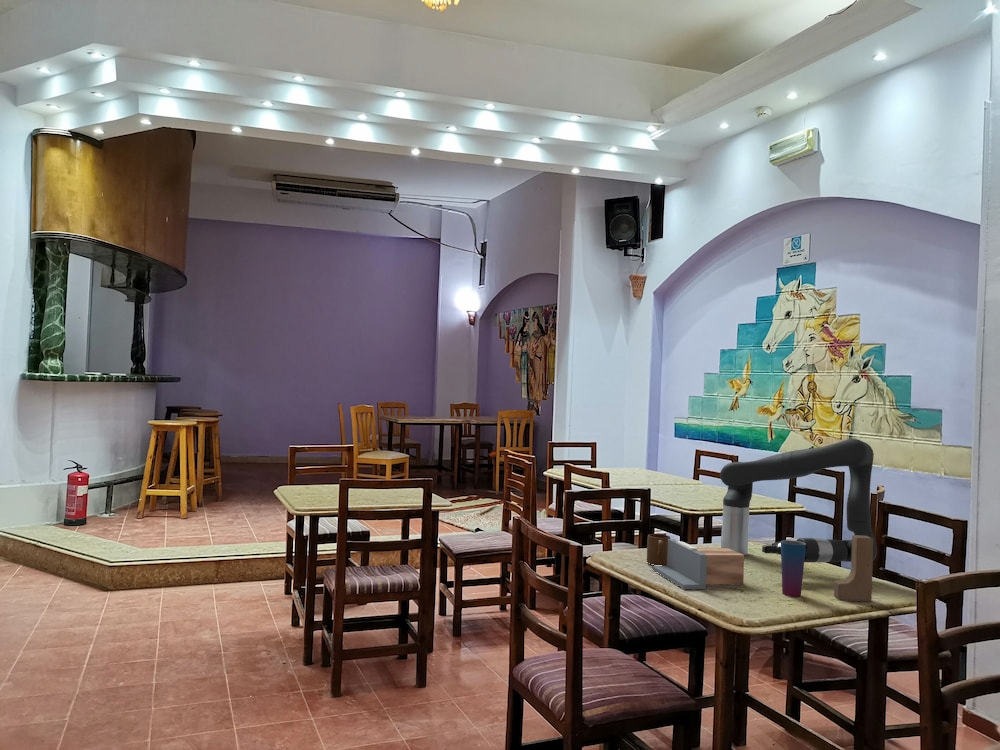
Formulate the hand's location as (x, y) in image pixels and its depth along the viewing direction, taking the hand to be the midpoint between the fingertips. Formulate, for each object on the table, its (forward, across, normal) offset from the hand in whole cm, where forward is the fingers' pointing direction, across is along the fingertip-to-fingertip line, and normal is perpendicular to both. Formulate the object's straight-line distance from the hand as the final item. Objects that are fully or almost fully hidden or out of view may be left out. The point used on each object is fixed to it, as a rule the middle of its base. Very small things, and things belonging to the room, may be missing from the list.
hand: (763, 549), depth 227 cm
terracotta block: (+17, +1, +10) cm, 20 cm away
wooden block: (-15, +22, +9) cm, 29 cm away
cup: (+1, +18, +9) cm, 20 cm away
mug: (+27, -17, +10) cm, 34 cm away
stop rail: (+28, +1, +10) cm, 30 cm away
